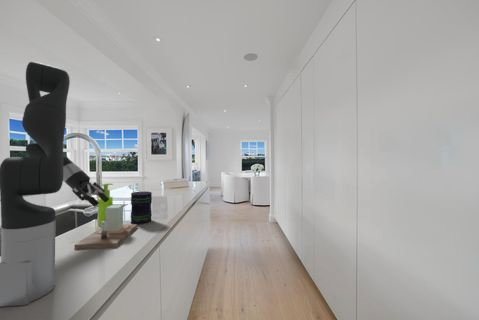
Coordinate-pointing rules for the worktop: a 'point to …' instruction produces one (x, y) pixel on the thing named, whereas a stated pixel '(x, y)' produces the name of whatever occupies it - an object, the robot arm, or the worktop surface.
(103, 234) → the steel post
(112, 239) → the walnut board
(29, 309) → the worktop surface
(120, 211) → the pale mint tall block
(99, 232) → the terracotta pad
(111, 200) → the lime green stepped cylinder
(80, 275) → the worktop surface
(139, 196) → the dark blue ridged cylinder
